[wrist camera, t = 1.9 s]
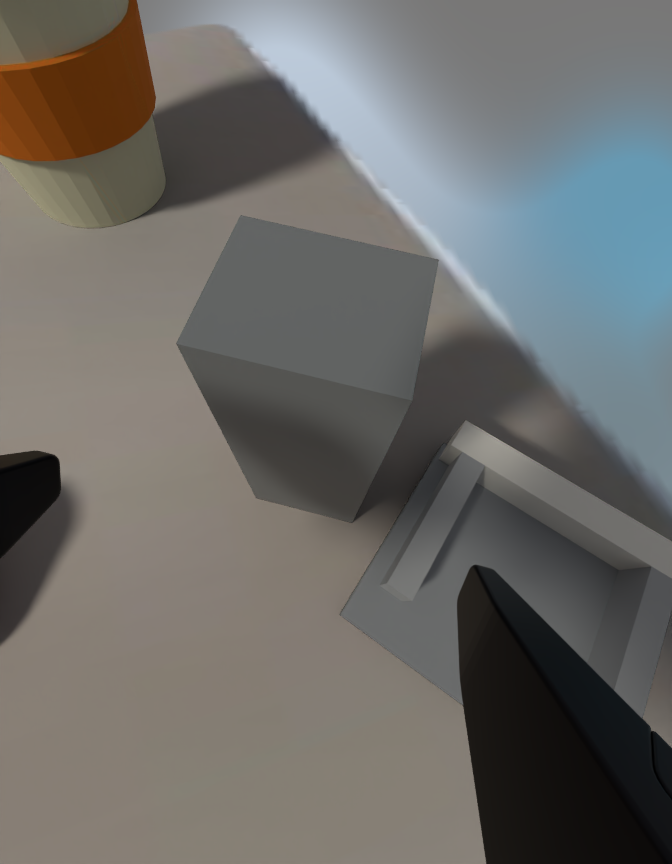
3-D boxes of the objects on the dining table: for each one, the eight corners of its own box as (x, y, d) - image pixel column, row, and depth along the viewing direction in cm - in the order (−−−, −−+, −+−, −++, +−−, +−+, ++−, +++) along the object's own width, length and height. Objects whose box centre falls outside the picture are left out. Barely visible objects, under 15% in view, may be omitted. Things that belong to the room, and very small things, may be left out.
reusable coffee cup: (80, 114, 32) (-96, -262, 18) (221, 159, 30) (148, -207, 17) (-35, 212, 27) (-399, -202, 13) (128, 271, 26) (-85, -118, 12)
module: (352, 522, 20) (412, 400, 8) (256, 498, 20) (176, 343, 8) (369, 446, 22) (440, 252, 10) (280, 424, 22) (244, 208, 10)
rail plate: (586, 795, 16) (638, 832, 13) (339, 614, 18) (343, 616, 16) (655, 567, 20) (706, 561, 17) (444, 439, 22) (462, 417, 19)
